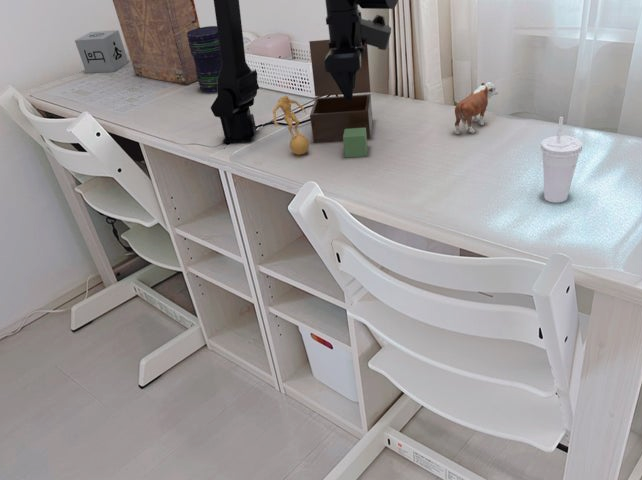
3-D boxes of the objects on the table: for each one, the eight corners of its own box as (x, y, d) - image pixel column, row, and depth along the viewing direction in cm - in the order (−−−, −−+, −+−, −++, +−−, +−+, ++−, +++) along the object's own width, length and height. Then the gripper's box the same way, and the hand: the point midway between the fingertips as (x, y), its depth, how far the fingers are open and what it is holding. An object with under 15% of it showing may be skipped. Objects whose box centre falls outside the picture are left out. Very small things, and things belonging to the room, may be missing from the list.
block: (345, 157, 124) (342, 137, 122) (346, 148, 128) (344, 128, 125) (366, 156, 124) (364, 135, 121) (367, 147, 127) (365, 127, 125)
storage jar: (218, 79, 176) (203, 13, 166) (242, 83, 171) (228, 14, 160) (192, 91, 170) (175, 22, 159) (217, 95, 165) (200, 24, 154)
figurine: (292, 163, 125) (282, 105, 118) (273, 156, 128) (262, 100, 121) (321, 148, 129) (313, 92, 122) (302, 142, 133) (294, 87, 126)
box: (370, 139, 131) (368, 110, 127) (313, 142, 132) (309, 114, 129) (372, 121, 139) (370, 93, 135) (319, 124, 141) (315, 97, 137)
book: (135, 75, 189) (101, -34, 171) (159, 66, 194) (129, -40, 176) (187, 85, 175) (157, -32, 157) (211, 75, 181) (184, -39, 163)
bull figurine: (500, 118, 133) (502, 80, 128) (464, 139, 126) (465, 100, 121) (483, 114, 136) (484, 77, 131) (447, 135, 128) (447, 96, 123)
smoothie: (530, 191, 106) (537, 112, 97) (567, 186, 106) (577, 107, 97) (543, 208, 101) (551, 126, 92) (581, 203, 101) (593, 121, 92)
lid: (366, 36, 130) (366, 36, 130) (309, 41, 131) (309, 41, 132) (370, 92, 135) (370, 91, 135) (315, 96, 136) (315, 95, 137)
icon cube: (86, 73, 197) (74, 40, 191) (101, 63, 204) (90, 31, 198) (114, 71, 195) (103, 38, 189) (128, 62, 203) (118, 30, 197)
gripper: (385, 16, 101) (391, 109, 110) (388, -7, 116) (393, 76, 125) (319, 22, 102) (330, 113, 112) (330, -2, 117) (339, 80, 126)
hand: (350, 94), depth 119 cm, fingers open, 7 cm apart
